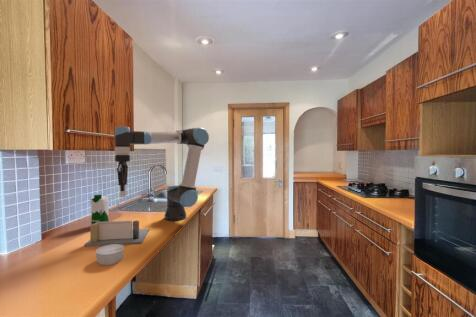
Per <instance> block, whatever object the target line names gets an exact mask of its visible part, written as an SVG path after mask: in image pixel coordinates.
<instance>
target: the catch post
mask: <svg viewBox="0 0 476 317" xmlns="http://www.w3.org/2000/svg"><path fill="white" fill-rule="evenodd" d="M89 229H90V232H89V233H90V236H89V238H90V239H89V240H90V242H91V243H97V242H98V241H99V224H91V223H90V226H89Z"/></svg>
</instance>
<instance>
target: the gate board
mask: <svg viewBox="0 0 476 317" xmlns="http://www.w3.org/2000/svg"><path fill="white" fill-rule="evenodd" d="M149 232H150V228H139V238H138V239H133V229H132V238H125V239H106V240H99V241H98V242H97V243H91V242H90V239H89V240H88V241H86V242H85V243H84V244H83V247H102V246H106V245H110V244H121V245H123V246H124V245H140V244H143V242H144V240H145V239H146V237H147V235H148V233H149Z"/></svg>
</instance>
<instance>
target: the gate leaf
mask: <svg viewBox="0 0 476 317" xmlns="http://www.w3.org/2000/svg"><path fill="white" fill-rule="evenodd" d="M95 224H99V240H106V239H125V238H132V230H133V221H132V220H117V221H116V220H115V221H109V222H97V223H95Z"/></svg>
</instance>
